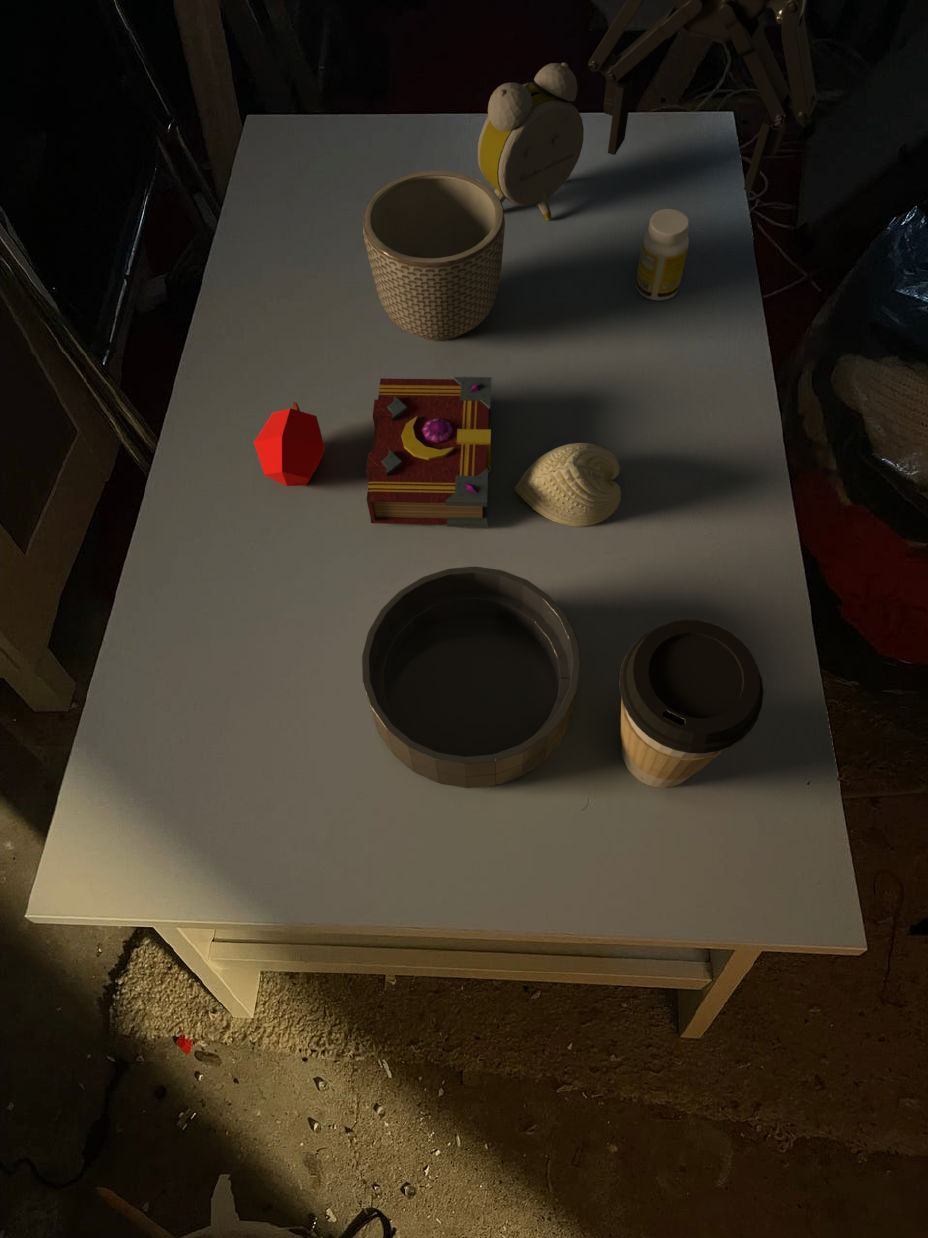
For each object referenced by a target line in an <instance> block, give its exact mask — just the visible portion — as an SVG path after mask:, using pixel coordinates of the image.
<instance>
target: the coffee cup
mask: <svg viewBox="0 0 928 1238" xmlns="http://www.w3.org/2000/svg"><path fill="white" fill-rule="evenodd" d="M618 677H619V678H618V681H619V693H620V697H621V705H620V706H621V707H620V740H621V756H622V759H623V763H624V764H625V766H626V769H627V770H628V771H629V772H630V774H631V775H632V776H633V777H634V778H635V779H636V780H638V781H640V782H641V783H643V784H645V785H647V786H650V787H654V788H660V789H661V788H662V789H667V788H673V787H676V786H678V785H681V784H682V783H684V782H685V781H687V780H688V779H689V778H691V776H693V775H695V774H697V773H698V772H700V771H701V770H702V769H704V767H706V765H708V764H709V763H710V762H711V761H713V760H714V759H715V758H716V757H717V756H719V755H720V754H721V753H722V752H723V751H725V750H726V749H728V748H731V747H732V746H734V745H735V744H738V743H739V742H740V741H742V740H743V739H744V738H745V737H747V735H748V734H749V733H750V732H751V731H752V730H753V728H754V726H755V725H756V723H757V721H758V720H759V717H760V714H761V711H762V707H763V703H764V685H763V677H762V675H761V672H760V669H759V666H758V664H757V661H756V660H755V658H754V656H753V654H752V653H751V651H750V649H749V648H748V647H747V646H746V644H745V643H744V642H743V641H742V640H741V639H740V638H738V637H737V636H736V635H735V634H734V633H733V632H732V631H729V630H727V629H726V628H724V627H722V626H721V625H718V624H715V623H713V622H709V621H706V620H701V619H681V620H675V621H674V620H673V621H671V622H667V623H664V624H662V625H658V626H656V627H654V628H652V629H651V630H649V631H647V632H645V633H643V634H642V635H641V637H639V638H638V639H637V640H636V641H635V642H634V643H633V644H632V646H631V647H630V648H629V650H628V651H627V653H626V654H625V656H624V659H623V661H622V663H621V666H620V671H619V676H618Z"/></svg>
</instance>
